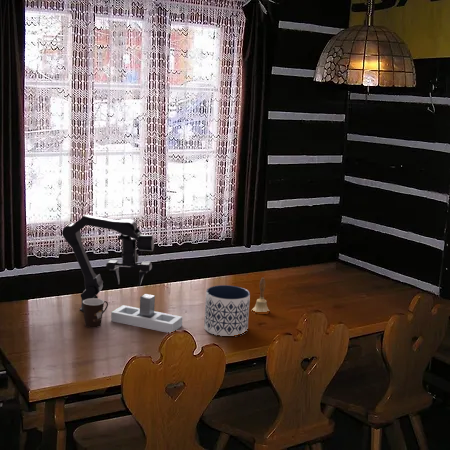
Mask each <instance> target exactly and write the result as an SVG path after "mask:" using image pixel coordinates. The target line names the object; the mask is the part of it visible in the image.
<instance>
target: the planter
mask: <svg viewBox="0 0 450 450" xmlns="http://www.w3.org/2000/svg"><path fill="white" fill-rule="evenodd" d="M250 298H251V292H250V291H249V290H248V289H246V288H244V287H240V286H237V285H235V286H234V285H227V284H225V285H224V284H223V285H222V284H221V285H213V286H211V287H208V288H207V289H206V292H205V302H204V303H205V307H204V323H203V328H204V330H205V331H206V332H207V333H208V334H211V335H213V334H214V336H217V335H220V336H219V337H222V336H234V335H238V334H242V333H244V332H245V331H247V332H248V330H247V329H249V316H250V303H251V301H250V300H251V299H250ZM244 334H245V333H244ZM242 335H243V334H242Z"/></svg>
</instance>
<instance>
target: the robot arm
mask: <svg viewBox="0 0 450 450" xmlns="http://www.w3.org/2000/svg"><path fill="white" fill-rule="evenodd" d="M86 226H90V227H93V228H94V227H95V228H100V229H107V230H113V231H115V232H116V233H119V234H120V235H119V236H118V237H117V240H120V241H121V240H122V241H121V243H122V245H121V247H122V249H121V251H122V253H121V259H122V262H119V259H109V260H108V261H107V262H106V264H105V269H106V270H109V272H111V274H112V275H113V276H114V279H115V282H116V283H117V285H120V272H119V271H120V268H127V269H130V268H131V269H140V270H139V275H138V276H139V277H138V286H139V287H140V286H141V285H142V281H143V279H144V276H145V274H147V273H149V272H150V271H151V270H152V269H153V265H152V264H153V263H152V262H151V261H142V262H141V263H138V262H139V256H140V255H139V254H138V253H137V250H139V251H142V252H143V251H144V252H145V251H147V252H153V251H154V248H155V241H154V240H155V239H154V235H153V234H143V233H142V232H141V230H140V229H139V227H138V224H137V222H136V221H135V220H134V219H127V218H125V219H112V218H106V217H100V216H97V215H96V216H94V215H90V214H85V215H83V216H82V217H81V218H80V219H78V220H77V221H76V222H74V223H73V222H71V223H69V224H68V225H65V226H64V228H63V229H62V231H61V235H62V237H63V238H64V240H65V242H66V243H67V244H68V245H69V246H70V247H71V248H72V252H73V254H74V256H75V257H76V258H75V259H76V260H77V263H78V265H79V267H80V270H81V273H82V274H83V278H84V288H85V289H84V290H83V292H82V293H81V294H80V298H81V307H80V308H79V310H80V311H81V312H83V313H84V309H83V301H84V300H85V299H90V298H97V299H99V298H98V297H99V296H98V294H99V293H100V292H101V291H102V289H103V287H104V285H103V283H104V281H103V280H102V277H101V274H100V273H99V274H96V273H95V271H94V269H93V266H92V265H91V262H90V260H89V257H88V255H87V252H86V249H85V247H84V245H83V242H82V232H81V230H82V229H83V228H85V227H86Z"/></svg>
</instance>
